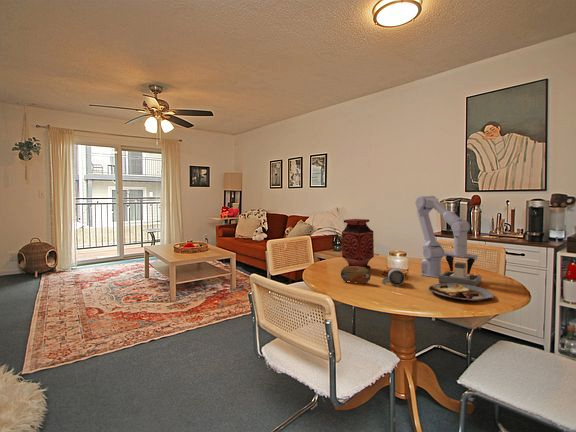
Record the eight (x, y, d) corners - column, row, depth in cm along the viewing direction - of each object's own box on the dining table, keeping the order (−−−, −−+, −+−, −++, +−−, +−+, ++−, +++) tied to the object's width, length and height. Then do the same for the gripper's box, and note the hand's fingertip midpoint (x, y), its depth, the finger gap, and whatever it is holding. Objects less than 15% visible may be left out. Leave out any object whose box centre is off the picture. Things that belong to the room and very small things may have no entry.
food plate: (457, 306, 126) (457, 297, 125) (417, 290, 148) (417, 283, 148) (505, 300, 133) (506, 292, 133) (460, 286, 155) (460, 279, 155)
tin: (340, 281, 165) (340, 265, 164) (342, 280, 167) (342, 264, 167) (370, 284, 158) (370, 268, 158) (371, 283, 161) (371, 266, 161)
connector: (454, 281, 159) (454, 263, 158) (456, 279, 162) (457, 262, 161) (463, 282, 156) (463, 264, 155) (465, 281, 159) (465, 263, 158)
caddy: (438, 282, 160) (438, 275, 159) (446, 277, 168) (446, 270, 168) (474, 288, 149) (474, 280, 149) (481, 283, 157) (481, 275, 157)
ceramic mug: (402, 281, 163) (402, 266, 162) (405, 286, 155) (404, 270, 154) (381, 281, 165) (380, 266, 165) (382, 285, 157) (382, 270, 156)
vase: (356, 265, 202) (355, 218, 201) (374, 269, 192) (374, 219, 190) (341, 268, 194) (341, 219, 192) (359, 272, 183) (359, 220, 181)
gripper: (479, 245, 155) (478, 272, 156) (447, 242, 165) (446, 268, 166) (475, 247, 150) (474, 275, 151) (442, 244, 160) (442, 271, 161)
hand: (459, 272), depth 158 cm, fingers open, 7 cm apart
